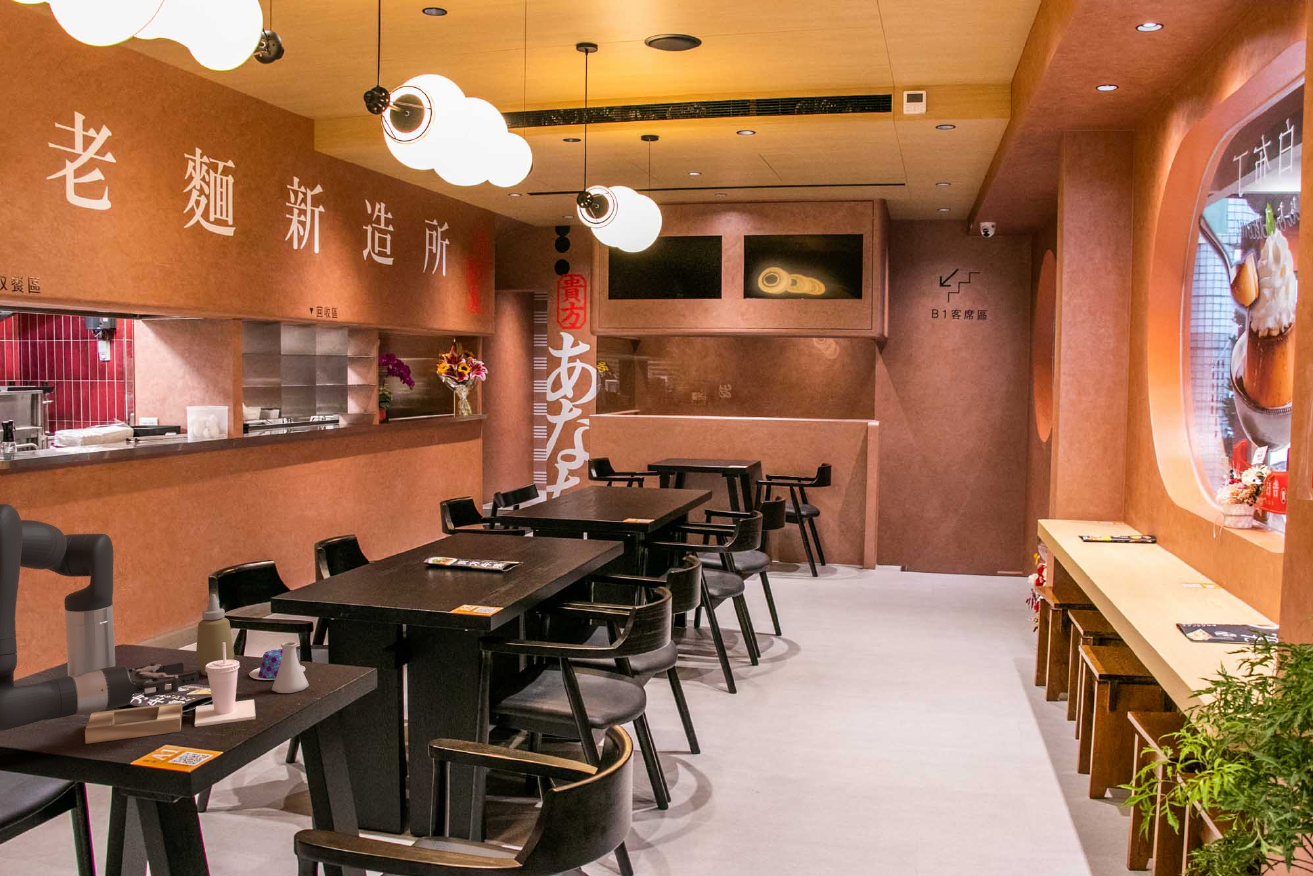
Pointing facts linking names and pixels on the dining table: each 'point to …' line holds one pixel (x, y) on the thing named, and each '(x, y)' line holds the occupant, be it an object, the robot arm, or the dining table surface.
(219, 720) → the ceramic pad
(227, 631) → the squeeze bottle
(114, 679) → the robot arm
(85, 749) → the dining table surface
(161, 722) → the collar
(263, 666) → the pudding
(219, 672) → the smoothie
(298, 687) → the flask
